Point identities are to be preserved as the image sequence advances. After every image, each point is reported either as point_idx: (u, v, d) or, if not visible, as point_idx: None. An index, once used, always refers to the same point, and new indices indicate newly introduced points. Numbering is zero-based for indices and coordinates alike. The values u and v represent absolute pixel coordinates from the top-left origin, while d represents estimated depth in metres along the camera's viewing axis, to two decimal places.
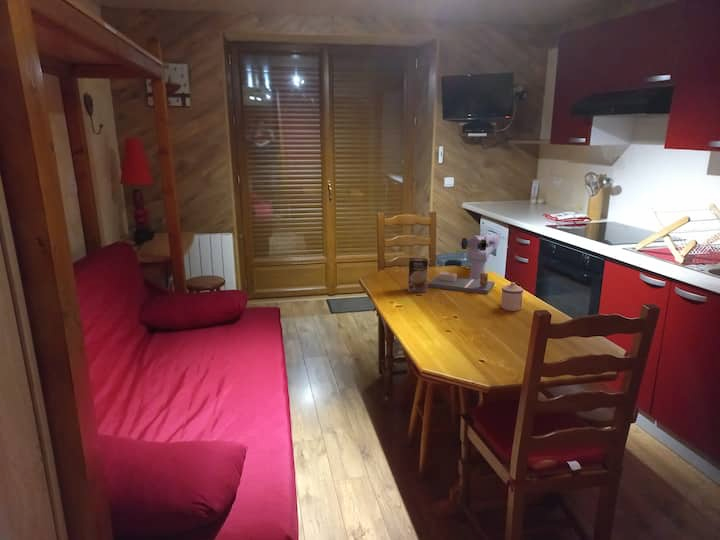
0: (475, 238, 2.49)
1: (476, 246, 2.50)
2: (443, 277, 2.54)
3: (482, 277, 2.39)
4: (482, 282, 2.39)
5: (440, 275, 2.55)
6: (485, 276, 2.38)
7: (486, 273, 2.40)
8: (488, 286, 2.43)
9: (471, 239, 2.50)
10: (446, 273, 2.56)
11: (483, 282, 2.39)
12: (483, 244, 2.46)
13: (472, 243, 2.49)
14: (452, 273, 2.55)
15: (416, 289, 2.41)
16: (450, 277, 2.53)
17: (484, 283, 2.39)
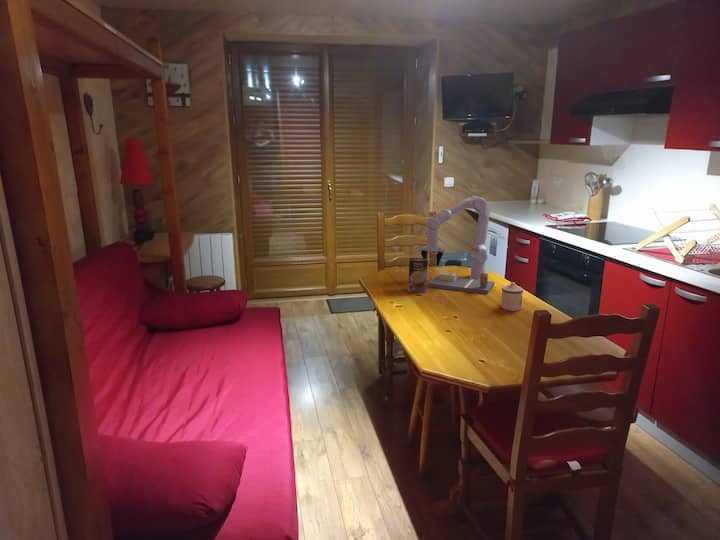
0: (430, 251, 2.54)
1: None
2: (443, 277, 2.54)
3: (482, 277, 2.39)
4: (483, 282, 2.39)
5: (440, 275, 2.55)
6: (485, 276, 2.38)
7: (486, 273, 2.40)
8: (488, 286, 2.43)
9: (427, 250, 2.55)
10: (446, 273, 2.56)
11: (483, 282, 2.39)
12: None
13: None
14: (452, 273, 2.55)
15: (416, 289, 2.41)
16: (450, 277, 2.53)
17: (484, 283, 2.39)
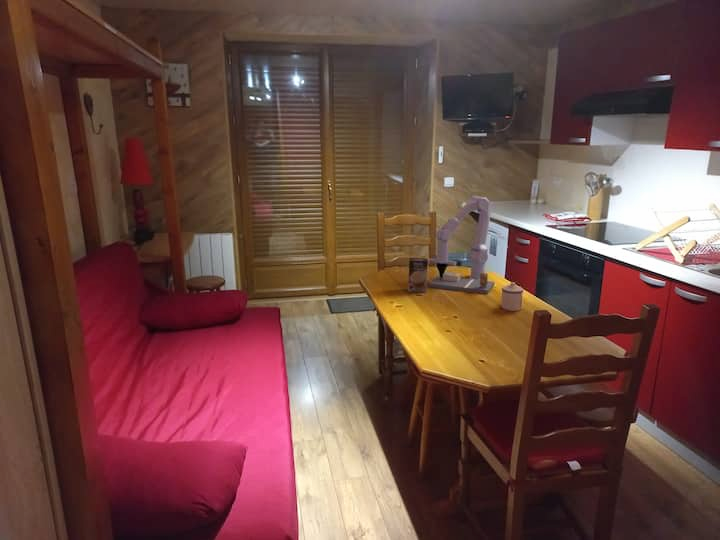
0: (441, 262, 2.53)
1: None
2: (447, 277, 2.54)
3: (482, 277, 2.39)
4: (482, 282, 2.39)
5: (444, 275, 2.54)
6: (485, 276, 2.38)
7: (486, 273, 2.40)
8: (488, 286, 2.43)
9: (437, 262, 2.54)
10: (450, 273, 2.55)
11: (483, 282, 2.39)
12: None
13: None
14: (456, 273, 2.54)
15: (416, 289, 2.41)
16: (454, 278, 2.52)
17: (484, 283, 2.39)
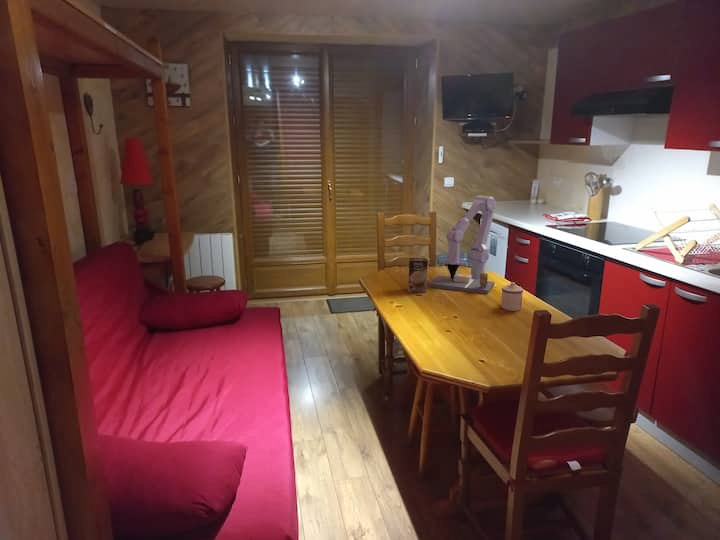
0: (452, 264, 2.50)
1: None
2: (458, 279, 2.51)
3: (482, 277, 2.39)
4: (482, 282, 2.39)
5: (455, 277, 2.52)
6: (485, 276, 2.38)
7: (486, 273, 2.40)
8: (488, 286, 2.43)
9: (448, 263, 2.52)
10: (461, 275, 2.53)
11: (483, 282, 2.39)
12: None
13: None
14: (467, 275, 2.52)
15: (416, 289, 2.41)
16: (465, 279, 2.49)
17: (484, 283, 2.39)
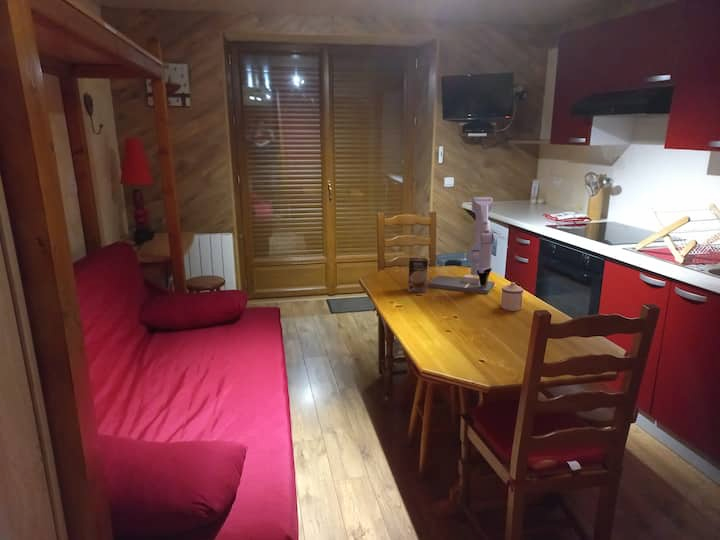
0: None
1: None
2: (467, 280, 2.49)
3: None
4: None
5: (464, 278, 2.49)
6: None
7: None
8: (488, 286, 2.43)
9: None
10: (470, 276, 2.50)
11: None
12: None
13: None
14: (477, 276, 2.50)
15: (416, 289, 2.41)
16: (475, 280, 2.47)
17: None
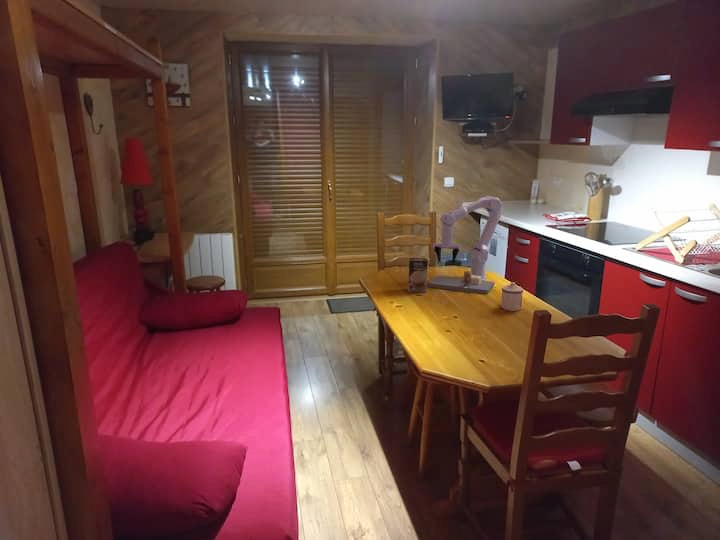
0: None
1: None
2: None
3: None
4: None
5: None
6: None
7: (466, 271, 2.45)
8: (488, 286, 2.43)
9: (442, 247, 2.54)
10: None
11: None
12: None
13: None
14: (477, 276, 2.50)
15: (416, 289, 2.41)
16: (475, 280, 2.47)
17: None
